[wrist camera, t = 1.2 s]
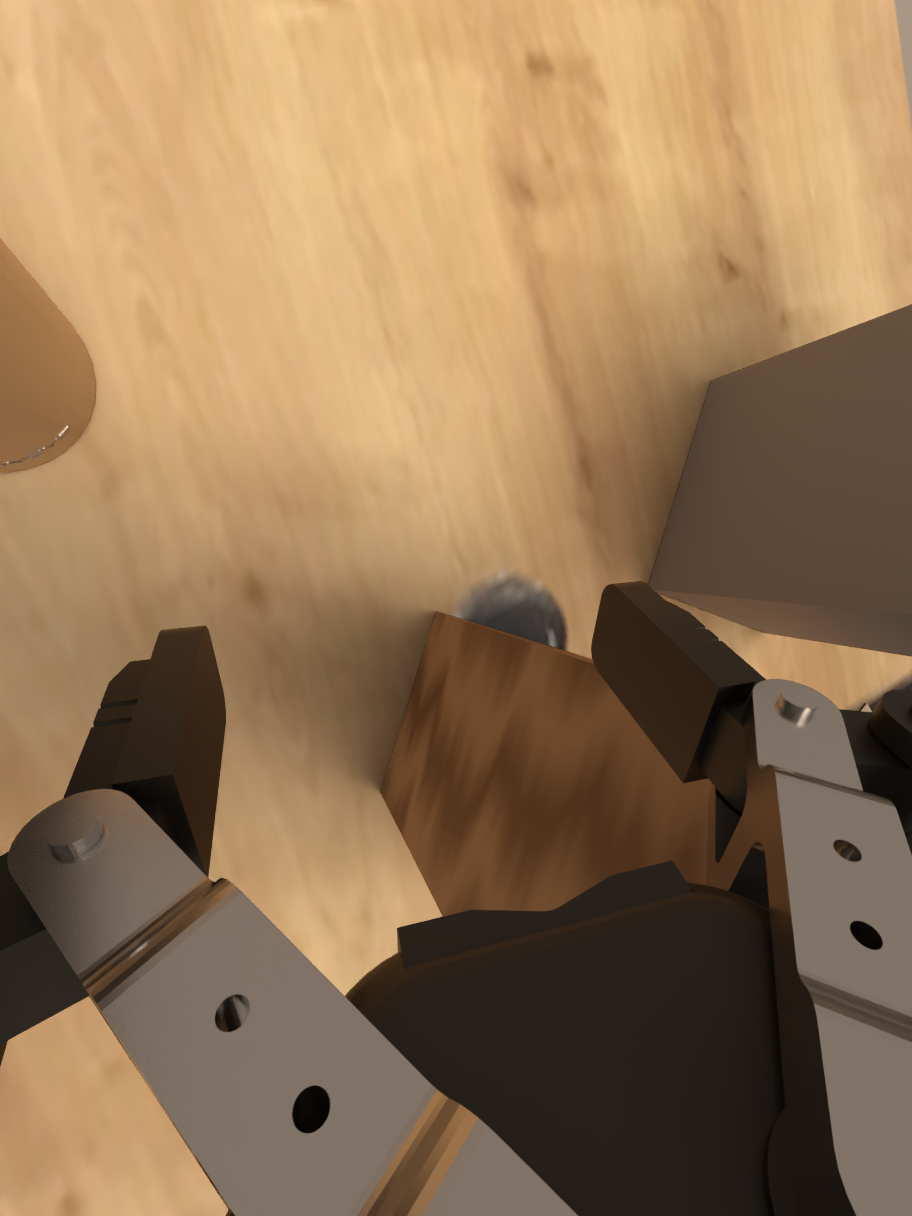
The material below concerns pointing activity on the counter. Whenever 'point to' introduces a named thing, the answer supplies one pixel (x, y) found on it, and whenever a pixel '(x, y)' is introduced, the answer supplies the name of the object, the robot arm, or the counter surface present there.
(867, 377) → the stand
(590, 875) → the wood grain block
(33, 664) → the counter surface
